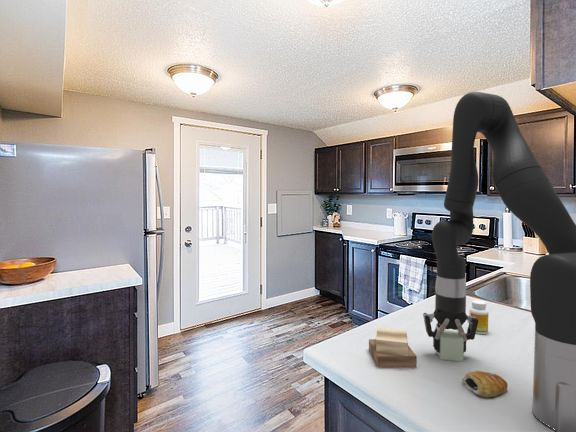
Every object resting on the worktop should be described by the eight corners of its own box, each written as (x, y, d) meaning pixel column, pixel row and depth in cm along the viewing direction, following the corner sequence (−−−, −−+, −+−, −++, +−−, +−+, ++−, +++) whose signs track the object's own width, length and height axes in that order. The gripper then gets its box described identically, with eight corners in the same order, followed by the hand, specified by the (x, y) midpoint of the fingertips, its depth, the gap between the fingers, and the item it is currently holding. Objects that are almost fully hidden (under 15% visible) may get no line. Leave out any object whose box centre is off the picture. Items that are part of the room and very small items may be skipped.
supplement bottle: (490, 335, 103) (491, 305, 102) (472, 333, 104) (473, 304, 103) (484, 328, 108) (484, 299, 107) (466, 327, 109) (467, 299, 108)
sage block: (463, 361, 87) (463, 339, 86) (441, 359, 88) (441, 338, 87) (456, 351, 92) (457, 331, 92) (436, 349, 93) (436, 329, 93)
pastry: (491, 378, 79) (491, 363, 79) (516, 394, 72) (517, 378, 72) (458, 384, 77) (459, 368, 76) (482, 401, 70) (482, 384, 70)
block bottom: (416, 369, 84) (416, 356, 84) (378, 369, 84) (378, 356, 84) (403, 350, 94) (403, 339, 94) (368, 351, 94) (368, 339, 94)
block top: (408, 356, 84) (408, 343, 83) (376, 352, 86) (376, 339, 86) (406, 342, 91) (406, 330, 91) (376, 339, 94) (377, 327, 93)
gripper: (425, 295, 87) (424, 356, 88) (484, 297, 84) (483, 361, 85) (420, 287, 94) (419, 343, 95) (474, 289, 91) (472, 347, 92)
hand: (449, 351), depth 90 cm, fingers closed on sage block, 5 cm apart
